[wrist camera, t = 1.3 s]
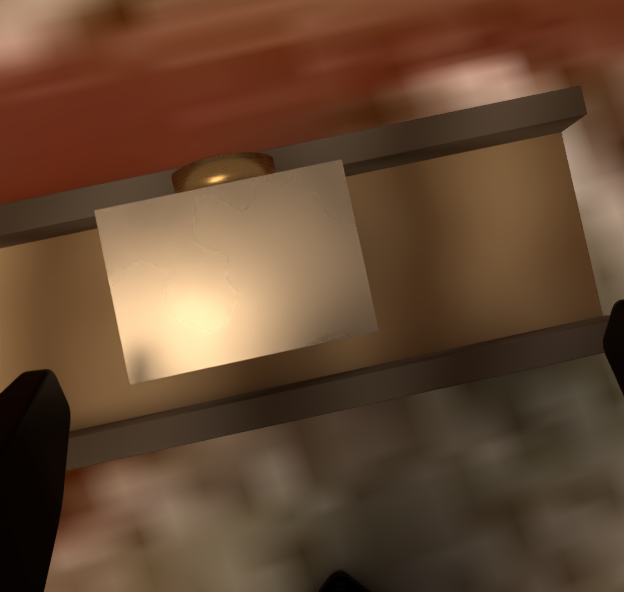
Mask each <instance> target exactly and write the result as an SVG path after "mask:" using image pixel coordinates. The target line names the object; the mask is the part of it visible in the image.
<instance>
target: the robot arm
mask: <svg viewBox="0 0 624 592" xmlns="http://www.w3.org/2000/svg"><path fill="white" fill-rule="evenodd" d="M603 349H604V352H605V355H606V357H607V359H608V362H609V364H610V366H611V368H612V371H613V373H614V375H615V377H616V380H617V382H618V384H619V386H620V389H621V391H622V393H623V395H624V299H623V300H619V301H617V302H616V303H615V304H614V306H613V308H612V311H611V314H610V317H609V320H608V324H607V327H606V330H605V333H604V336H603ZM70 422H71V412H70V407H69V404H68V401H67V399H66V397H65V394H64V392H63V390H62V388H61V386H60V383H59V381H58V379H57V377H56V375H55V373H54V372H53V371H52V370H50V369H40V370H32V371H26V372H23V373H22V374H20V375H19V376H18V377H17V378H16V379H15V380H14V381H13V382H12V383H11V384H9V385H8V386H7V387H6V388H5V389H4V390H3V391H2V392H1V393H0V592H44V589H45V584H46V580H47V575H48V571H49V566H50V562H51V557H52V553H53V548H54V543H55V539H56V534H57V530H58V525H59V520H60V515H61V510H62V502H63V494H64V484H65V474H66V463H67V453H68V442H69V432H70ZM338 582H343V583H345V584H346V587H345V589H343V590H341V591H338V590H336V589H335V588H334V586H335V584H337V583H338ZM318 592H370V591H369V590H368V589H367V588H365V587H364V586H363V585H361V584H360V583H359V582H358V581H356V580H355V579H354V578H352V577H351V576H350V575H349V574H347V573H345V572H343V571H337V572H335V573H333V574H332V575H331V576H330V577H329V578H328V579H327V580H326V582H325V583H324V584H323V586H322V587H321V588H320V590H319V591H318Z"/></svg>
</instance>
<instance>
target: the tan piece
mask: <svg viewBox="0 0 624 592" xmlns="http://www.w3.org/2000/svg"><path fill="white" fill-rule="evenodd" d="M586 114H587V112H586V107H585V103H584V98H583V94H582V90H581V86H576V87H571V88H566V89H561V90H556V91H552V92H547V93H542V94H537V95H532V96H527V97H522V98H517V99H513V100H508V101H503V102H498V103H493V104H488V105H483V106H479V107H474V108H469V109H464V110H459V111H454V112H449V113H445V114H440V115H435V116H430V117H425V118H420V119H415V120H410V121H406V122H401V123H396V124H391V125H386V126H381V127H376V128H372V129H367V130H362V131H357V132H352V133H347V134H342V135H338V136H333V137H328V138H323V139H318V140H313V141H308V142H303V143H299V144H294V145H289V146H284V147H279V148H274V149H269V150H265V151H260V152H255V153H263V154H267V155H270V156H272V157H273V159H274V163H275V168H276V172H277V173H278V172H283V171H287V170H292V169H297V168H302V167H307V166H312V165H316V164H321V163H326V162H331V161H336V160H341V159H342V163H343V168H344V172H345V177H346V182H347V186H348V191H349V195H350V200H351V205H352V209H353V214H354V218H355V223H356V228H357V232H358V237H359V242H360V246H361V251H362V255H363V260H364V265H365V269H366V274H367V279H368V283H369V288H370V292H371V297H372V302H373V306H374V311H375V315H376V320H377V325H378V329H379V331H376V332H372V333H367V334H362V335H358V336H353V337H348V338H344V339H339V340H334V341H330V342H325V343H321V344H316V345H311V346H307V347H302V348H297V349H293V350H288V351H283V352H279V353H274V354H270V355H265V356H260V357H256V358H251V359H246V360H242V361H237V362H232V363H228V364H223V365H219V366H214V367H209V368H205V369H200V370H195V371H191V372H186V373H181V374H177V375H172V376H168V377H163V378H158V379H154V380H149V381H144V382H140V383H135V384H130V383H129V378H128V373H127V368H126V363H125V358H124V353H123V348H122V344H121V339H120V334H119V329H118V324H117V319H116V314H115V309H114V305H113V300H112V295H111V290H110V285H109V280H108V275H107V270H106V266H105V261H104V256H103V251H102V246H101V241H100V236H99V231H98V227H97V222H96V217H95V212H94V210H99V209H104V208H108V207H113V206H118V205H123V204H128V203H133V202H137V201H142V200H147V199H152V198H157V197H162V196H167V195H171V194H174V189H173V184H172V180H171V176H172V174H173V173H174V172H175V171H177V170H178V169H180V168H177V169H172V170H167V171H162V172H158V173H153V174H148V175H143V176H138V177H133V178H128V179H124V180H119V181H114V182H109V183H104V184H99V185H94V186H89V187H85V188H80V189H75V190H70V191H65V192H60V193H55V194H51V195H46V196H41V197H36V198H31V199H26V200H21V201H16V202H12V203H7V204H2V205H0V393H1V392H2V391H3V390H4V389H5V388H6V387H7V386H8V385H9V384H11V383H12V382H13V381H14V380H15V379H16V378H17V377H18V376H19V375H20V374H22V373H23V372H26V371H32V370H40V369H50V370H52V371H53V372H54V373H55V375H56V377H57V379H58V381H59V383H60V386H61V388H62V390H63V392H64V394H65V397H66V399H67V401H68V404H69V407H70V412H71V422H70V432H69V442H68V453H67V463H66V471H67V470H72V469H76V468H81V467H85V466H90V465H94V464H99V463H104V462H108V461H113V460H117V459H122V458H126V457H131V456H135V455H140V454H145V453H149V452H154V451H158V450H163V449H167V448H172V447H177V446H181V445H186V444H190V443H195V442H199V441H204V440H208V439H213V438H218V437H222V436H227V435H231V434H236V433H240V432H245V431H250V430H254V429H259V428H263V427H268V426H272V425H277V424H282V423H286V422H291V421H295V420H300V419H304V418H309V417H313V416H318V415H323V414H327V413H332V412H336V411H341V410H345V409H350V408H355V407H359V406H364V405H368V404H373V403H377V402H382V401H386V400H391V399H396V398H400V397H405V396H409V395H414V394H418V393H423V392H428V391H432V390H437V389H441V388H446V387H450V386H455V385H460V384H464V383H469V382H473V381H478V380H482V379H487V378H491V377H496V376H501V375H505V374H510V373H514V372H519V371H523V370H528V369H533V368H537V367H542V366H546V365H551V364H555V363H560V362H565V361H569V360H574V359H578V358H583V357H587V356H592V355H596V354H601V353H605V352H604V349H603V336H604V333H605V330H606V327H607V324H608V320H609V317H610V316H603V315H602V311H601V306H600V302H599V297H598V293H597V289H596V284H595V280H594V275H593V271H592V266H591V262H590V258H589V253H588V249H587V244H586V240H585V236H584V231H583V227H582V222H581V218H580V213H579V209H578V205H577V200H576V196H575V191H574V187H573V183H572V178H571V174H570V169H569V165H568V160H567V156H566V152H565V147H564V143H563V138H562V134H561V132H562V131H563V130H565V129H566V128H568V127H569V126H571V125H572V124H573V123H575V122H576V121H578V120H579V119H581V118H582V117H584V116H585V115H586Z"/></svg>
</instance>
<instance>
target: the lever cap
mask: <svg viewBox="0 0 624 592" xmlns="http://www.w3.org/2000/svg"><path fill="white" fill-rule="evenodd" d="M171 180H172V184H173V189H174V194H171V195H167V196H162V197H157V198H152V199H147V200H142V201H137V202H133V203H128V204H123V205H118V206H113V207H108V208H104V209H99V210H94V212H95V217H96V222H97V227H98V231H99V236H100V241H101V246H102V251H103V256H104V261H105V266H106V270H107V275H108V280H109V285H110V290H111V295H112V300H113V305H114V309H115V314H116V319H117V324H118V329H119V334H120V339H121V344H122V348H123V353H124V358H125V363H126V368H127V373H128V378H129V383H130V384H135V383H140V382H144V381H149V380H154V379H158V378H163V377H168V376H172V375H177V374H181V373H186V372H191V371H195V370H200V369H205V368H209V367H214V366H219V365H223V364H228V363H232V362H237V361H242V360H246V359H251V358H256V357H260V356H265V355H270V354H274V353H279V352H283V351H288V350H293V349H297V348H302V347H307V346H311V345H316V344H321V343H325V342H330V341H334V340H339V339H344V338H348V337H353V336H358V335H362V334H367V333H372V332H376V331H379V329H378V325H377V320H376V315H375V311H374V306H373V302H372V297H371V292H370V288H369V283H368V279H367V274H366V269H365V265H364V260H363V255H362V251H361V246H360V242H359V237H358V232H357V228H356V223H355V218H354V214H353V209H352V205H351V200H350V195H349V191H348V186H347V182H346V177H345V172H344V168H343V163H342V159H341V160H336V161H331V162H326V163H321V164H316V165H312V166H307V167H302V168H297V169H292V170H287V171H283V172H278V173H277V172H276V168H275V163H274V159H273V157H272V156H270V155H267V154H263V153H251V152H250V153H234V154H226V155H220V156H215V157H210V158H206V159H203V160H199V161H196V162H193V163H191V164H188V165H186V166H184V167H182V168H180V169H178V170H177V171H175V172H174V173H173V174H172V176H171Z"/></svg>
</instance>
